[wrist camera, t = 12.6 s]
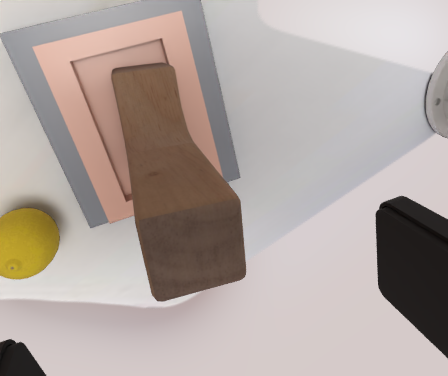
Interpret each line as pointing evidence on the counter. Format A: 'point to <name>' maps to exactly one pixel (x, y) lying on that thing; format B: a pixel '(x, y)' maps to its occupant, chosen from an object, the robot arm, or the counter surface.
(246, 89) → the counter surface
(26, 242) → the lemon
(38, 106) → the baseplate
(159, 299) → the wooden block
